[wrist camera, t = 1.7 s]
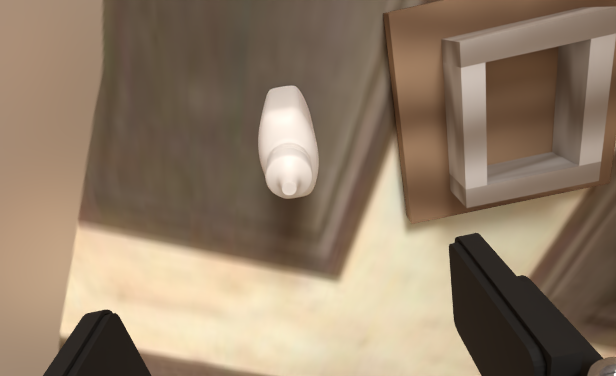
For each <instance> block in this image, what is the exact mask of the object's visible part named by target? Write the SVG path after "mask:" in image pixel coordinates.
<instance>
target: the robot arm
mask: <svg viewBox="0 0 616 376" xmlns="http://www.w3.org/2000/svg"><path fill="white" fill-rule="evenodd" d="M449 257H450V271H451V285H452V300H453V314H454V322H455V326H456V328H457V331H458V333H459V335H460V337H461V339H462V340H463V342H464V344H465V346H466V348H467V350H468V351H469V353H470V355H471V357H472V359H473V361H474V363H475V364H476V366H477V368H478V370H479V372H480V374H481V375H482V376H616V357H609V358H605V359H603V358H602V357H601V355H600V354H599V353H598V352H597V351H596V350H595V349H594V348H593V347H592V346H591V345H590V344H589V342H588V341H587V340H586V339H585V338H584V337H583V336H582V335H581V334H580V333H579V332H578V331H577V329H576V328H575V327H574V326H573V325H572V324H571V323H570V322H569V321H568V320H567V319H566V318H565V317H564V315H563V314H562V313H561V312H560V311H559V310H558V309H557V308H556V307H555V306H554V305H553V304H552V302H551V301H550V300H549V299H548V298H547V297H546V296H545V295H544V294H543V293H542V292H541V291H540V289H539V288H538V287H537V286H536V285H535V284H534V283H533V282H532V281H531V280H530V279H529V278H528V277H526V276H523V275H521V276H516V275H515V274H514V273H513V272H512V270H511V269H510V268H509V267H508V266H507V265H506V264H505V263H504V261H503V260H502V259H501V258H500V257H499V256H498V255H497V253H496V252H495V251H494V250H493V249H492V248H491V247H490V246H489V244H488V243H487V242H486V241H485V240H484V239H483V238H482V237H481V235H479V234H478V233H474V234H469V235H464V236H459V237H456V238H455V243H452V244H450V245H449ZM43 376H151V374H150V372H149V370H148V369H147V367H146V365H145V363H144V361H143V359H142V358H141V356H140V354H139V352H138V350H137V348H136V347H135V345H134V343H133V341H132V339H131V337H130V335H129V334H128V332H127V330H126V328H125V326H124V324H123V323H122V321H121V319H120V317H119V316H118V315H117V314H116V313H112V311H110V310H101V311H97V312H92V313H87V314H85V315H84V316H83V317H82V319H81V320H80V322H79V323H78V325H77V326H76V328H75V329H74V331H73V332H72V333H71V335H70V336H69V338H68V339H67V341H66V342H65V344H64V345H63V347H62V348H61V350H60V351H59V353H58V354H57V356H56V357H55V359H54V360H53V362H52V363H51V365H50V366H49V367H48V369H47V371H46V372H45V373H44V375H43Z"/></svg>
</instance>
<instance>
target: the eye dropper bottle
mask: <svg viewBox="0 0 616 376" xmlns="http://www.w3.org/2000/svg"><path fill="white" fill-rule="evenodd" d="M258 149H259V157H260V162H261V166H262V169H263V172H264V174H265V179H266V184H267V186H269V187H268V188H270V190H271V191H272V192H273V193H275V194H276V195H277V196H279V197H282V198H286V199H289V198H297V197H302V196H306V195H308V194H310V193H311V192H312V190H313V188H314V186H315V183H316V179H317V175H318V167H319V157H318V148H317V143H316V138H315V134H314V129H313V125H312V120H311V116H310V112H309V109H308V106H307V103H306V101H305V99H304V97H303V95H302V94H301V92H300V91H299V89H298V88H297V87H295V86H284V87H278V88H273V89H271V90H269V92H268V93H267V96H266V100H265V104H264V108H263V112H262V116H261V122H260V127H259V137H258Z"/></svg>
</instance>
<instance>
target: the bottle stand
mask: <svg viewBox="0 0 616 376" xmlns="http://www.w3.org/2000/svg"><path fill="white" fill-rule="evenodd" d="M383 16H384V24H385V33H386V42H387V50H388V59H389V67H390V76H391V84H392V93H393V102H394V110H395V119H396V127H397V136H398V145H399V153H400V162H401V170H402V179H403V187H404V196H405V205H406V213H407V216H408V218H409V220H410V221H411V223H412V224H414V223H418V222H423V221H428V220H433V219H438V218H443V217H448V216H452V215H457V214H462V213H467V212H472V211H477V210H481V209H486V208H491V207H496V206H501V205H506V204H511V203H515V202H520V201H525V200H530V199H535V198H540V197H544V196H549V195H554V194H559V193H564V192H569V191H574V190H578V189H583V188H588V187H593V186H598V185H603V184H608V183H610V177H611V169H612V162H613V154H614V147H615V139H616V0H439V1H435V2H431V3H426V4H422V5H417V6H413V7H409V8H404V9H400V10H396V11H391V12H387V13H383Z"/></svg>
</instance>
